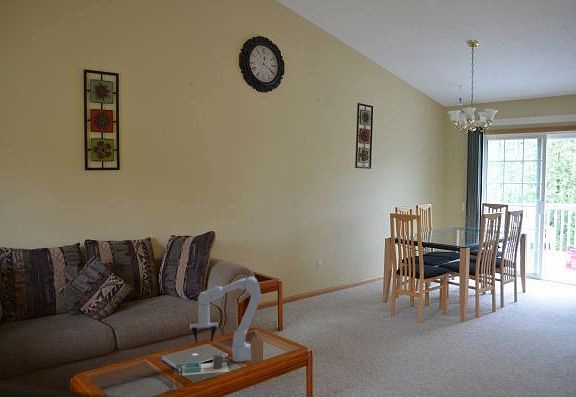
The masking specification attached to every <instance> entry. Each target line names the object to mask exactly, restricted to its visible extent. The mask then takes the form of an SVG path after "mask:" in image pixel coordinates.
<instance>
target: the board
mask: <svg viewBox="0 0 576 397" xmlns="http://www.w3.org/2000/svg"><path fill="white" fill-rule="evenodd" d="M184 365H185V366H181V370H182V371H181V372H182V373H181V374H182V375H181V376H190V375H192V376H193V375H202V374H204V375H205V374H215V373H226V372H227V373H228V372H229V373H230V370H229V366H228V363H227V361H222V369H214V368H213V362H209V363H208V362H207V363H201V362H200V361H195V362H184Z"/></svg>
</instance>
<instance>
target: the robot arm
mask: <svg viewBox="0 0 576 397" xmlns="http://www.w3.org/2000/svg"><path fill="white" fill-rule="evenodd" d="M259 283H260V282H259V281H258V280H257V278H256V277H255V276H252V275H250V276H247V277H243V278H241V279H238V280H236V281H233V282H232V283H229V284H227V285H224V286H220V285H218V286H217V285H214V287H213V288H210V289H206V290H205V291H202V292H200V293H199V294H198V297H197V302H198V308H197V309H198V312H197V313H198V320H197V321H198V322H197V323H190V324H189V330H191V331H192V334H193V336H194V340H195V343H196V344H197V343H198V329H206V328H208V329H209V328H210V342H211V343H213V340H214V336H215V334H216V331H217V328H219V322H210V321H211V320H210V319H211V317H210V311H211V310H210V309H211V306H210V302H213V301H215V300H218V299H220V298H222V297H224V295H225V294H226V293H229V292H231V291H235V290H237V289H241V290H245V291H247V293H249V295H250V297H251V298H250V300H249V303H248V305H247V307H246V309H245V312H244V314H243V317H242V319H241V321H240V324H239V325H238V328H237V329H236V330H235V331H234V333H233V339H232V361H233V362H235V363H236V362H237V363H238V362H239V363H240V362H248V361H252V352H251V351H252V349H251V348H252V347H251V343H247V341H246V336H247V332H248V331H249V327H250V324H251V323H252V320H253V318H254V315H255V313H256V311H257V309H258V306H259V304H260V301H261V299H262V293H261V289H260V288H261V287H260V284H259Z"/></svg>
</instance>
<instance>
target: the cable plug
mask: <svg viewBox="0 0 576 397" xmlns="http://www.w3.org/2000/svg"><path fill="white" fill-rule="evenodd" d="M222 362H223V356H222V354H214V355H212V363H213V368H214V369H222Z"/></svg>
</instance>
